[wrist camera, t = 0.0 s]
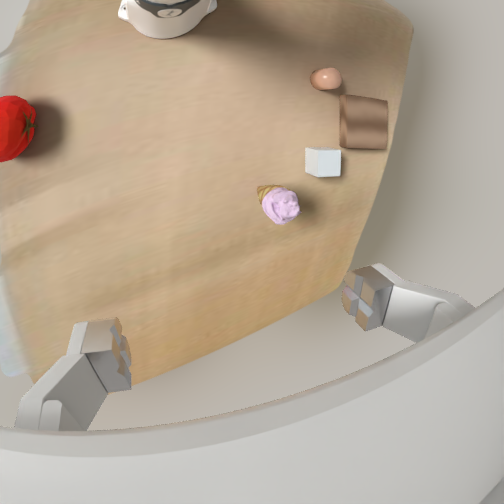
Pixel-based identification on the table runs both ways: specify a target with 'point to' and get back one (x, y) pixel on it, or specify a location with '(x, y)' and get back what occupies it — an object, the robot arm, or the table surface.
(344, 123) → the walnut plinth
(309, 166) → the white cube
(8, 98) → the tomato
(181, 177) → the table surface
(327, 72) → the peach rounded block
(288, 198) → the ice cream cone
